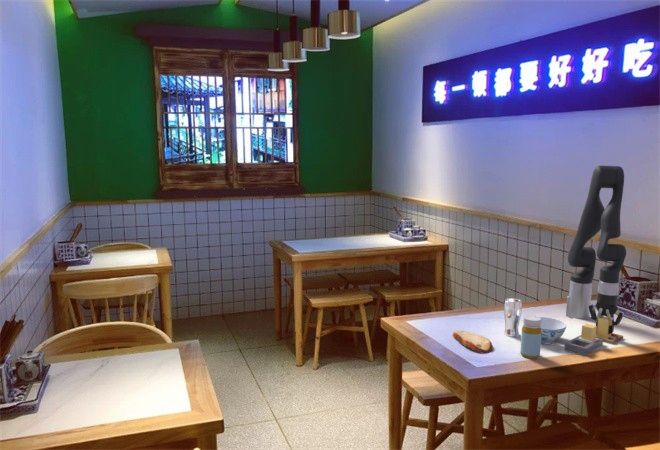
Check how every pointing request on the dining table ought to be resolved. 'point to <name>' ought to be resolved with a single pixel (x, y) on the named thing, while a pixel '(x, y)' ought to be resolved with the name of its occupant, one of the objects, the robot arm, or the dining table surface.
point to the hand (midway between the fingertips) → (604, 331)
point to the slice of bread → (473, 341)
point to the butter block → (603, 327)
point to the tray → (611, 338)
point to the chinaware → (551, 329)
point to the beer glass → (512, 316)
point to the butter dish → (584, 341)
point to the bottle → (531, 337)
